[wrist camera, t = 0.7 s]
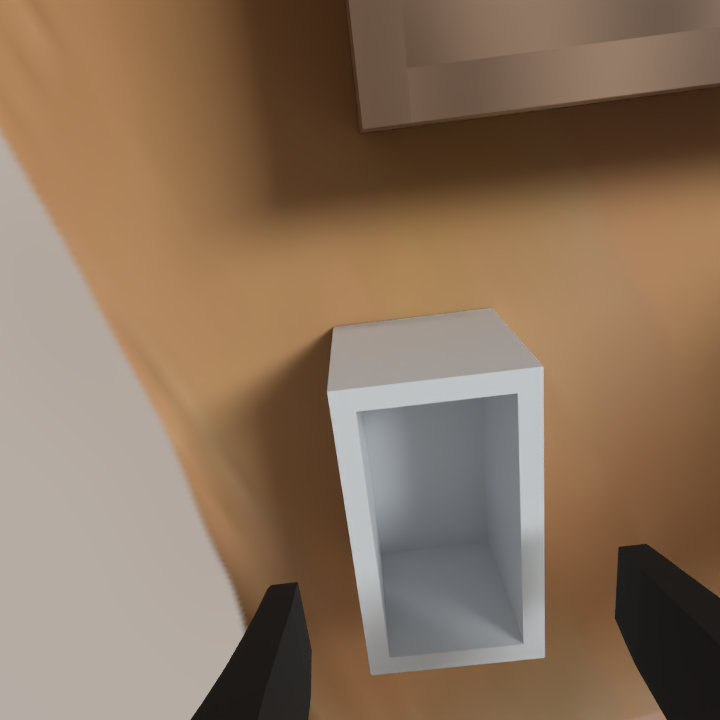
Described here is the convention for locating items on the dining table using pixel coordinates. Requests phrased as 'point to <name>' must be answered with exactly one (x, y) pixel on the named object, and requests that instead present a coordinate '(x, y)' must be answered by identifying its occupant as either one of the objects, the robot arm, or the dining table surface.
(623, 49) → the walnut crate
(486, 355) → the box
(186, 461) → the dining table surface
